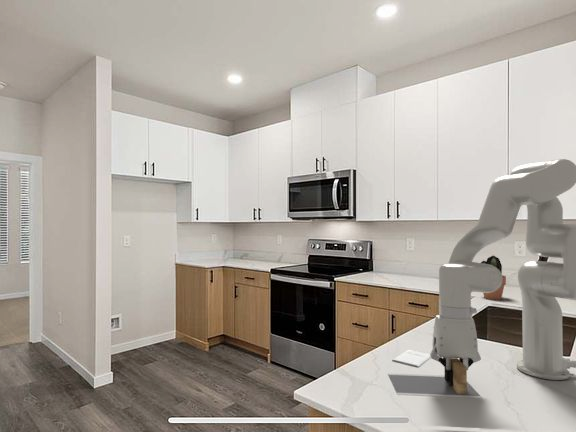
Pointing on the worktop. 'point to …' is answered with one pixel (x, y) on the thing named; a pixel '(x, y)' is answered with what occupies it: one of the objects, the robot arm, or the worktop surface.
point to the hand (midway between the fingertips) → (455, 383)
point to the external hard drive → (412, 358)
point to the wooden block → (459, 376)
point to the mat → (427, 386)
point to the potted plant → (496, 263)
